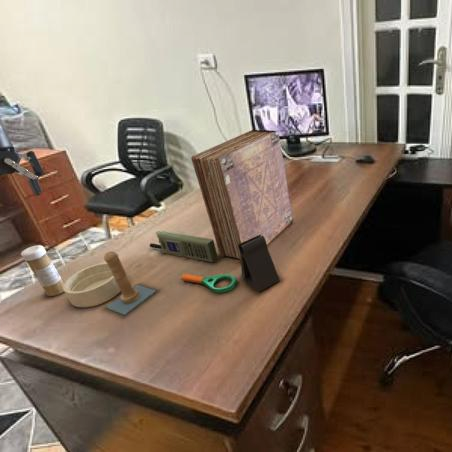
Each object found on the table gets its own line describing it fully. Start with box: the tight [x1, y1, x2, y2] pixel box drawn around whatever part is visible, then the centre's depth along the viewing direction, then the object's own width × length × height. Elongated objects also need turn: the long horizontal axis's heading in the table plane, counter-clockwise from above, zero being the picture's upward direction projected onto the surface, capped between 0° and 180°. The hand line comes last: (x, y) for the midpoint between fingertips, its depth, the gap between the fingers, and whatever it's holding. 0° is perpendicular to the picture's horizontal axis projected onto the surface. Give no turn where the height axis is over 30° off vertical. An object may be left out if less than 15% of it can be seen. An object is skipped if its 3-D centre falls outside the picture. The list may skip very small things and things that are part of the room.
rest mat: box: [105, 284, 157, 316], centre depth 87 cm, size 9×7×1 cm
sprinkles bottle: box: [20, 244, 65, 297], centre depth 90 cm, size 5×5×13 cm
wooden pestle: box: [103, 250, 140, 304], centre depth 84 cm, size 4×4×14 cm
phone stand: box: [238, 234, 280, 293], centre depth 87 cm, size 9×6×12 cm, turn 40°
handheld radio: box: [149, 230, 219, 263], centre depth 102 cm, size 7×3×25 cm
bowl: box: [63, 261, 121, 308], centre depth 90 cm, size 13×13×5 cm
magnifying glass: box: [181, 273, 237, 294], centre depth 90 cm, size 15×6×2 cm, turn 72°
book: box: [190, 129, 294, 260], centre depth 101 cm, size 25×9×30 cm, turn 154°
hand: (16, 200), depth 82 cm, fingers open, 8 cm apart
